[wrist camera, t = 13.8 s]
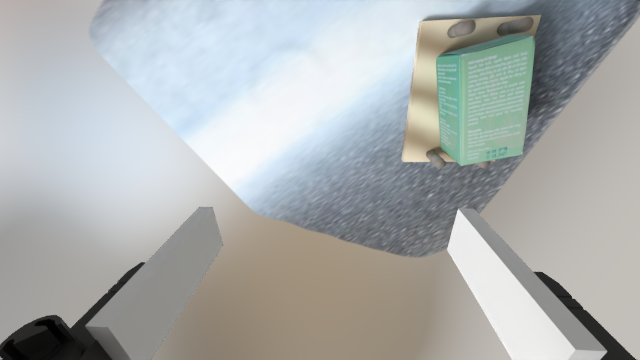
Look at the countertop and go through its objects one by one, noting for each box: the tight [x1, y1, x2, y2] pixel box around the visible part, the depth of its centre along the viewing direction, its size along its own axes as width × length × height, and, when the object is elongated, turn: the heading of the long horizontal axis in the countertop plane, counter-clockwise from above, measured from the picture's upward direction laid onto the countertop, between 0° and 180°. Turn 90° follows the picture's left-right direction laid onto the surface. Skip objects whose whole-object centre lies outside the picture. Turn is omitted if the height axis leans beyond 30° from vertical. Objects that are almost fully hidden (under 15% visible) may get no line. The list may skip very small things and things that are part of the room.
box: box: [436, 34, 536, 166], centre depth 30 cm, size 7×14×8 cm, turn 15°
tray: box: [402, 15, 541, 168], centre depth 32 cm, size 19×14×5 cm
